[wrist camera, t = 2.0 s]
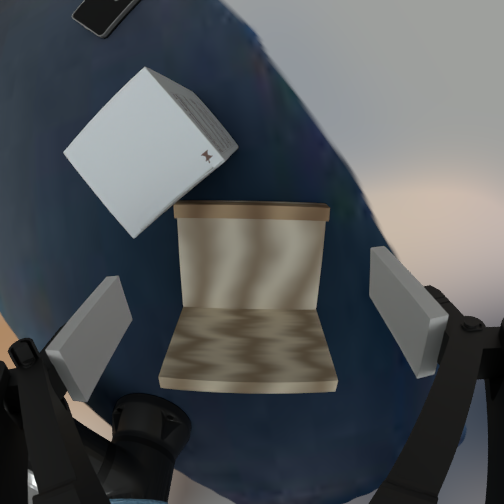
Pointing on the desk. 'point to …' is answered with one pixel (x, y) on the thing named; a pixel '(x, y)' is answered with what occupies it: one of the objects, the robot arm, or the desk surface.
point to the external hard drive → (103, 14)
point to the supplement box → (149, 149)
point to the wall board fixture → (249, 299)
